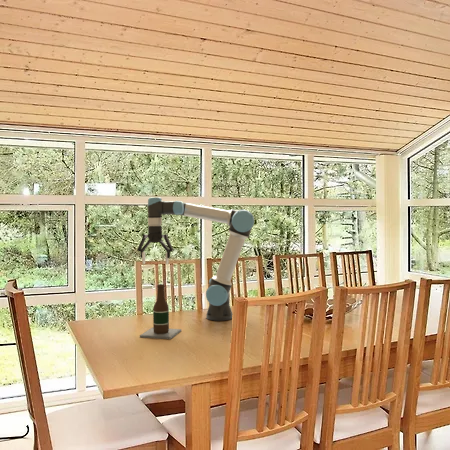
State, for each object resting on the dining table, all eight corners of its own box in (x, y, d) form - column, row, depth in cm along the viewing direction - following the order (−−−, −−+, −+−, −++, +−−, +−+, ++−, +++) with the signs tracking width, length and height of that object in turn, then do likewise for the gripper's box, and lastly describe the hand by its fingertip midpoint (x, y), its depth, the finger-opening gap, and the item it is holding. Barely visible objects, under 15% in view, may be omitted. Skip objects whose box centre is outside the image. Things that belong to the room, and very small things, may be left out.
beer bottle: (154, 334, 235) (153, 286, 234) (152, 330, 243) (152, 283, 242) (170, 333, 237) (169, 285, 236) (167, 329, 245) (167, 283, 244)
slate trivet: (181, 331, 246) (181, 329, 246) (170, 339, 230) (170, 337, 230) (152, 329, 249) (152, 327, 249) (139, 337, 234) (139, 335, 234)
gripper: (178, 225, 263) (179, 263, 264) (136, 225, 268) (136, 262, 269) (174, 225, 256) (174, 265, 257) (131, 225, 261) (131, 264, 262)
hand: (155, 264), depth 263 cm, fingers open, 13 cm apart
